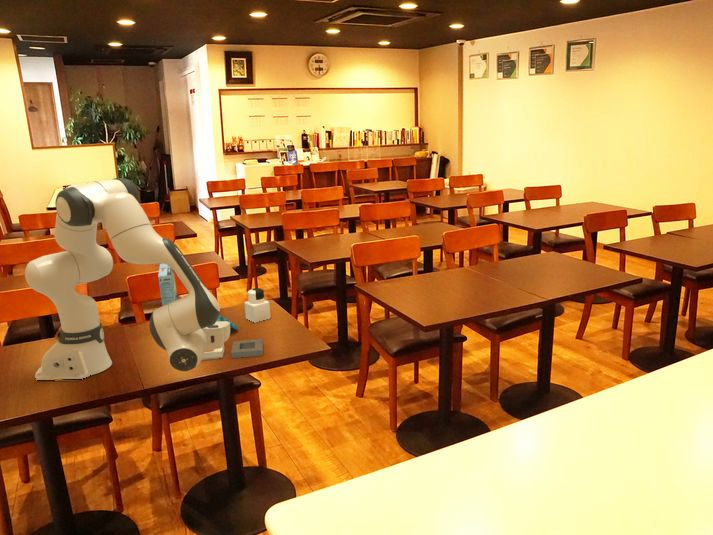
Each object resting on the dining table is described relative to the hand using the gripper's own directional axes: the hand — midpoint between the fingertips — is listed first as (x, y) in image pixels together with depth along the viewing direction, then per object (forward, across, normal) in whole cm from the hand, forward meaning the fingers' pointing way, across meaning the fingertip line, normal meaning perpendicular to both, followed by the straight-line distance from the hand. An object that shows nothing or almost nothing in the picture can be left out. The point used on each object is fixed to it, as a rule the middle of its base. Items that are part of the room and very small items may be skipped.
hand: (198, 321), depth 180 cm
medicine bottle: (+44, +17, -15) cm, 49 cm away
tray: (+13, +1, -16) cm, 21 cm away
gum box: (+43, -15, -18) cm, 49 cm away
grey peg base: (+13, +14, -15) cm, 24 cm away
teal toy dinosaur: (+34, +5, -16) cm, 38 cm away
